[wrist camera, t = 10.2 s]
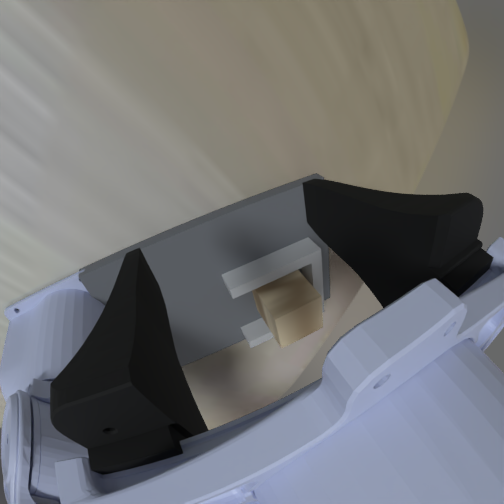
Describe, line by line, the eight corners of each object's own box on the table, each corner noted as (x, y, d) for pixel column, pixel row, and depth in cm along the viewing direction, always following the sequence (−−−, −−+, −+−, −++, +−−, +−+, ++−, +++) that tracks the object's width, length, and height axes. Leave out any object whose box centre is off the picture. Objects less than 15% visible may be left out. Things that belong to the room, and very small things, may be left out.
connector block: (257, 309, 28) (281, 348, 24) (248, 279, 26) (275, 319, 22) (295, 292, 29) (322, 327, 25) (290, 261, 26) (321, 296, 23)
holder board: (153, 369, 29) (159, 392, 26) (79, 269, 20) (76, 294, 18) (324, 291, 33) (340, 309, 30) (316, 173, 24) (338, 186, 22)
